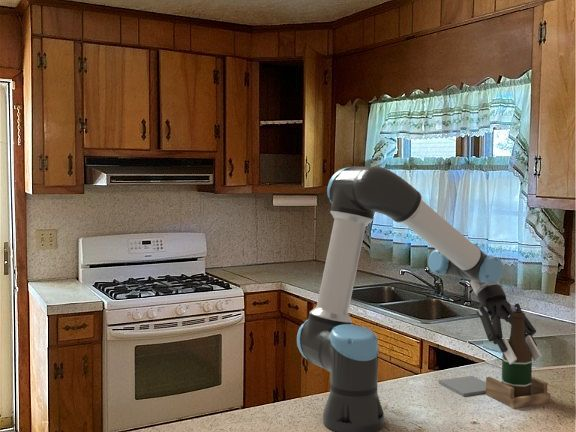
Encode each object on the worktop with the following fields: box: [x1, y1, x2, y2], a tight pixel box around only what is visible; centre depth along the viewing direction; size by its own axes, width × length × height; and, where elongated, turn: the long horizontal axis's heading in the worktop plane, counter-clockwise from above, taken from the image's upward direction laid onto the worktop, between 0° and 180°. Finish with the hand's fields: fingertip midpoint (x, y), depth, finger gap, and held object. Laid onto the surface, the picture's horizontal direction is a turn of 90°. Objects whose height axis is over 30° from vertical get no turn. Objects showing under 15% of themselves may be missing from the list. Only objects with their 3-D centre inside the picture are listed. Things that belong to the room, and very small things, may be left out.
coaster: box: [438, 375, 486, 397], centre depth 183 cm, size 12×12×1 cm
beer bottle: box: [501, 311, 533, 397], centre depth 173 cm, size 8×8×24 cm
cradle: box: [485, 376, 551, 409], centre depth 173 cm, size 12×11×5 cm
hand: (525, 360), depth 170 cm, fingers open, 8 cm apart
